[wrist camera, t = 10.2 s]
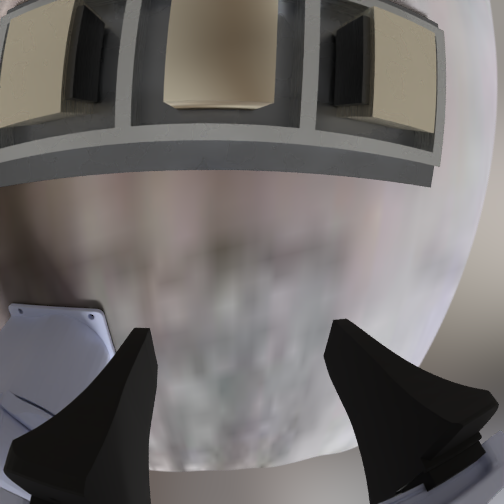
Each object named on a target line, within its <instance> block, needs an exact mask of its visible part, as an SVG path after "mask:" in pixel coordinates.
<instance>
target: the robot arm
mask: <svg viewBox="0 0 504 504" xmlns="http://www.w3.org/2000/svg"><path fill="white" fill-rule="evenodd" d="M8 308H9V312H10V314H11V317H10V318H9V320H8V321H7V322H6V324H5V325H4V326H3V328H2V329H1V331H0V504H151V499H150V486H149V434H150V427H151V420H152V414H153V407H154V401H155V395H156V389H157V370H158V365H157V360H156V356H155V351H154V346H153V341H152V336H151V331H150V328H134V329H133V330H132V331H131V333H130V334H129V336H128V337H127V338H126V340H125V341H124V343H123V344H122V345H121V347H120V348H119V349H118V351H117V352H116V353H115V349H114V346H113V343H112V340H111V336H110V333H109V329H108V326H107V322H106V319H105V315H104V313H103V311H102V310H100V309H91V308H70V307H54V306H39V305H27V304H16V303H11V304H10V305H9V307H8ZM90 314H92V315H93V316H94V317H93V316H91V315H90ZM324 359H325V363H326V366H327V370H328V373H329V376H330V378H331V380H332V383H333V385H334V387H335V389H336V391H337V393H338V395H339V397H340V400H341V402H342V404H343V406H344V408H345V410H346V412H347V414H348V416H349V419H350V421H351V424H352V427H353V430H354V433H355V436H356V439H357V442H358V446H359V450H360V453H361V457H362V461H363V465H364V470H365V475H366V480H367V486H368V492H369V501H370V504H488V503H489V502H490V501H491V500H492V499H493V498H494V497H495V496H496V495H497V494H498V493H499V492H500V491H501V490H502V488H504V433H503V432H502V430H499V431H498V432H497V433H495V434H494V435H493V436H492V437H490V438H489V439H488V440H487V441H485V442H484V443H483V444H482V445H481V444H480V442H479V440H480V439H481V438H482V436H481V435H480V433H479V431H480V429H482V428H483V426H484V425H485V424H486V423H487V422H488V421H489V420H490V419H491V417H492V416H493V415H494V413H495V412H496V411H497V409H498V405H499V404H498V402H497V401H496V400H495V398H494V397H493V396H492V394H491V393H490V392H489V391H487V390H482V389H477V388H472V387H468V386H464V385H460V384H457V383H454V382H451V381H448V380H445V379H443V378H440V377H438V376H436V375H433V374H431V373H429V372H427V371H425V370H422V369H421V368H419V367H417V366H415V365H413V364H411V363H410V362H408V361H406V360H405V359H403V358H401V357H400V356H398V355H397V354H395V353H394V352H392V351H391V350H389V349H388V348H386V347H385V346H383V345H382V344H381V343H379V342H378V341H376V340H375V339H374V338H372V337H371V336H370V335H368V334H367V333H366V332H364V331H363V330H362V329H360V328H359V327H358V326H356V325H355V324H353V323H352V322H351V321H349V320H348V319H339V320H333V323H332V327H331V331H330V334H329V338H328V342H327V345H326V349H325V353H324Z"/></svg>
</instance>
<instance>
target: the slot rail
mask: <svg viewBox="0 0 504 504" xmlns="http://www.w3.org/2000/svg"><path fill="white" fill-rule="evenodd" d="M171 2H172V0H29V1H27V2H25V3H22V4H20V5H18V6H16V7H14V8H12V9H10V10H8V12H7V15H5V16H3V17H1V21H0V187H4V186H10V185H16V184H22V183H28V182H35V181H42V180H50V179H58V178H66V177H76V176H86V175H97V174H109V173H123V172H140V171H164V170H256V171H280V172H298V173H313V174H326V175H337V176H348V177H357V178H367V179H375V180H383V181H391V182H398V183H405V184H412V185H419V186H425V187H431V182H432V176H433V169H434V166H438V167H440V161H441V153H442V144H443V134H444V121H445V103H446V58H445V40H444V31H443V30H441V29H439V28H438V24H437V23H435V22H433V21H431V20H429V19H427V18H426V17H424V16H422V15H420V14H418V13H416V12H414V11H411V10H409V9H407V8H405V7H403V6H401V5H398V4H396V3H394V2H391V1H389V0H278V22H277V48H276V71H275V93H274V103H272V104H269V105H266V106H264V107H261V108H258V109H256V110H233V109H188V110H177V109H175V108H173V107H172V106H170V105H168V104H167V103H165V102H163V97H164V76H165V61H166V48H167V37H168V27H169V18H170V10H171Z"/></svg>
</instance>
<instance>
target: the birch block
mask: <svg viewBox="0 0 504 504" xmlns="http://www.w3.org/2000/svg"><path fill="white" fill-rule="evenodd" d="M277 22H278V0H172V2H171V10H170V18H169V27H168V37H167V48H166V61H165V76H164V97H163V102H165V103H167V104H168V105H170V106H172V107H173V108H175V109H177V110H188V109H233V110H256V109H258V108H261V107H264V106H266V105H269V104H272V103H274V93H275V71H276V48H277Z"/></svg>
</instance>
